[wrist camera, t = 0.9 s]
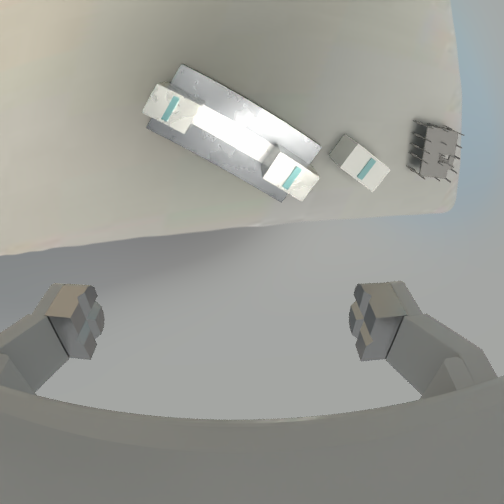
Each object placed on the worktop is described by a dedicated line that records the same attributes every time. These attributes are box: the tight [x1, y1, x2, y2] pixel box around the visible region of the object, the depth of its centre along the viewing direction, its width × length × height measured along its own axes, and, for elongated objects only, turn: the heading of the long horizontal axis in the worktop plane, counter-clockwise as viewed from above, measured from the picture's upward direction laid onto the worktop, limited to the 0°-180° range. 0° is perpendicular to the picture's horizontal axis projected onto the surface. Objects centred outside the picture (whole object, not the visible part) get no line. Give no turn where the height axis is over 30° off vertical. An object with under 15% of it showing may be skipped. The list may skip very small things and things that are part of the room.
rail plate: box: [142, 64, 322, 202], centre depth 39 cm, size 10×23×6 cm, turn 58°
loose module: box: [329, 134, 390, 192], centre depth 41 cm, size 4×6×6 cm, turn 58°
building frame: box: [407, 120, 463, 183], centre depth 40 cm, size 6×8×6 cm
